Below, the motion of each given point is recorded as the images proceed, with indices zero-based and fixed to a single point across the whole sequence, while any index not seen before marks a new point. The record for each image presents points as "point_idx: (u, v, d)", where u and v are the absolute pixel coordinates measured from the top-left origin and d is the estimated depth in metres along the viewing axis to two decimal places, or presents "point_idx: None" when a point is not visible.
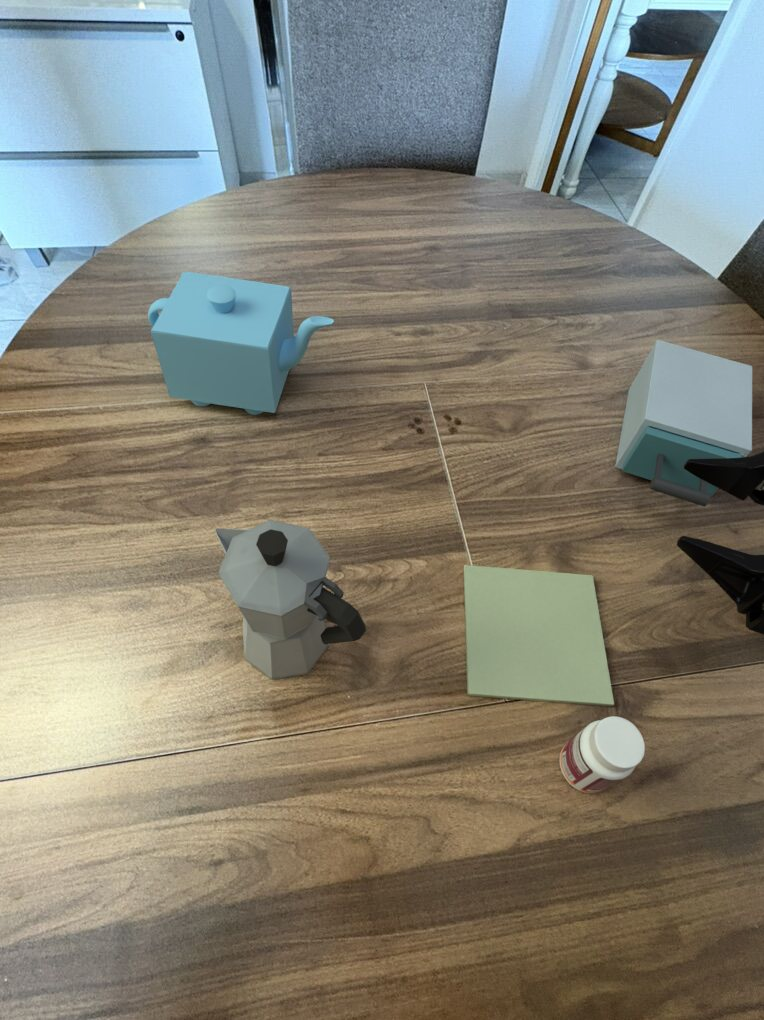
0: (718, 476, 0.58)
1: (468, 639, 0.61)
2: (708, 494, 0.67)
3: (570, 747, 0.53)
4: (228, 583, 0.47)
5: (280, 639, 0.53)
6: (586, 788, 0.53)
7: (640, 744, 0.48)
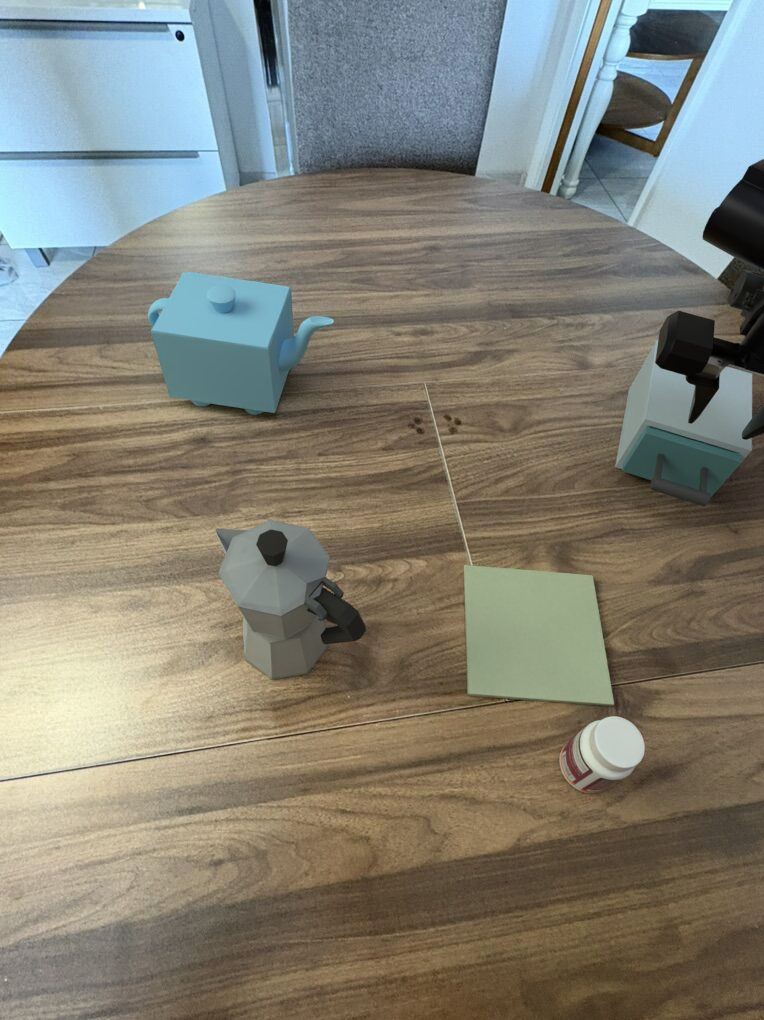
0: (762, 417, 0.60)
1: (468, 639, 0.61)
2: (708, 494, 0.67)
3: (570, 747, 0.53)
4: (228, 583, 0.47)
5: (280, 639, 0.53)
6: (586, 788, 0.53)
7: (640, 744, 0.48)
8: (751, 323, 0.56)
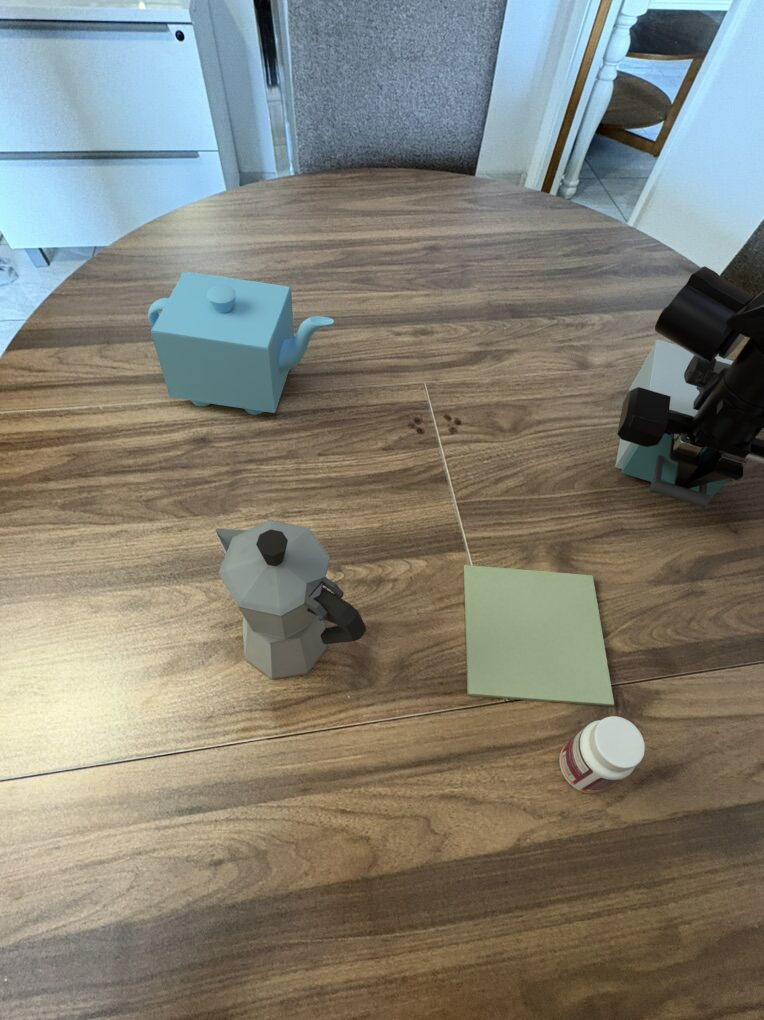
0: (692, 472, 0.66)
1: (468, 639, 0.61)
2: (708, 496, 0.67)
3: (570, 747, 0.53)
4: (228, 583, 0.47)
5: (280, 639, 0.53)
6: (586, 788, 0.53)
7: (640, 744, 0.48)
8: (702, 400, 0.62)
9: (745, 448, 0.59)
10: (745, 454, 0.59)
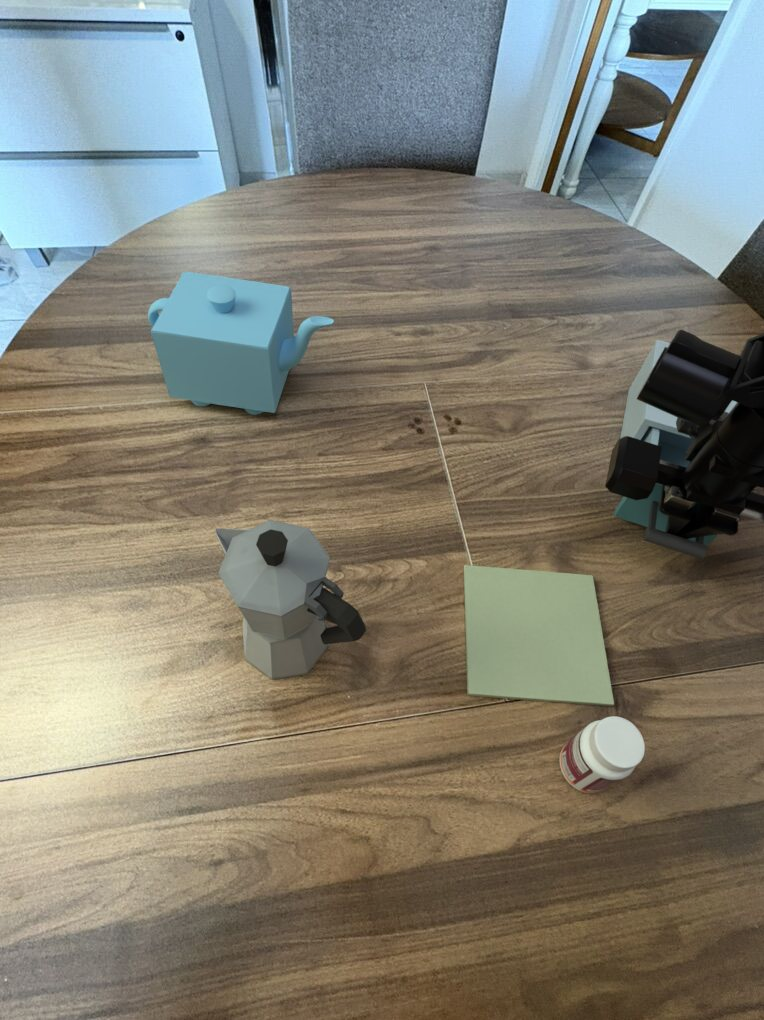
0: None
1: (468, 639, 0.61)
2: (705, 546, 0.63)
3: (570, 747, 0.53)
4: (228, 583, 0.47)
5: (280, 639, 0.53)
6: (586, 788, 0.53)
7: (640, 744, 0.48)
8: (695, 451, 0.59)
9: (739, 505, 0.56)
10: (739, 511, 0.56)
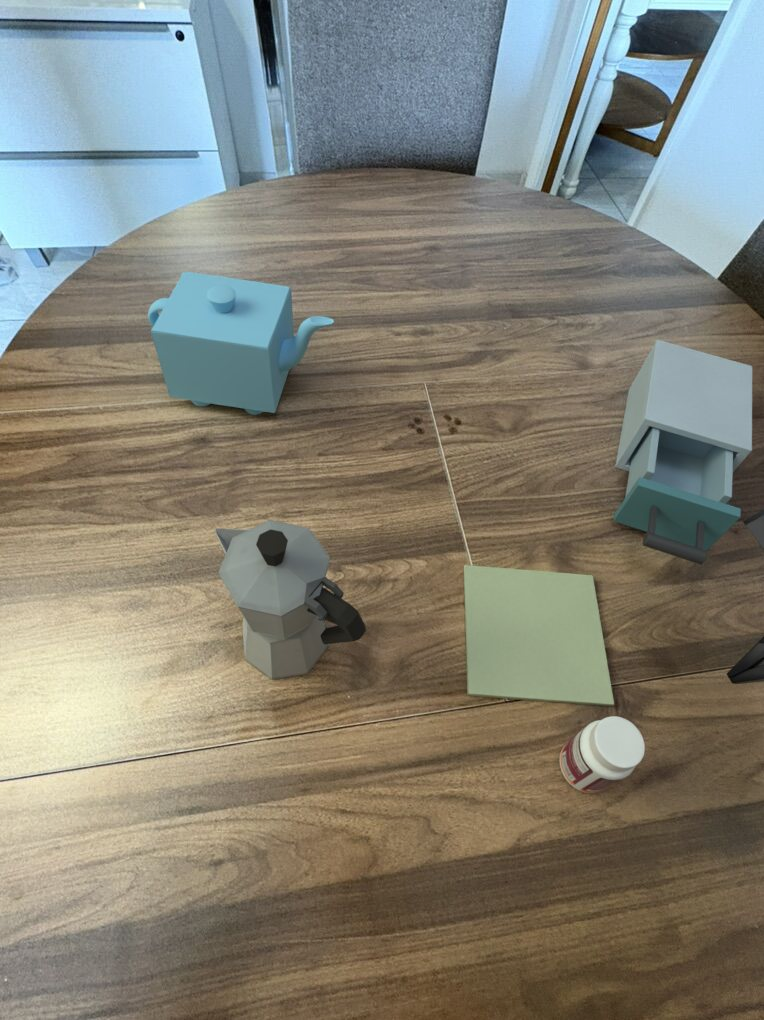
0: None
1: (468, 639, 0.61)
2: (705, 552, 0.62)
3: (570, 747, 0.53)
4: (228, 583, 0.47)
5: (280, 639, 0.53)
6: (586, 788, 0.53)
7: (640, 744, 0.48)
8: None
9: None
10: None
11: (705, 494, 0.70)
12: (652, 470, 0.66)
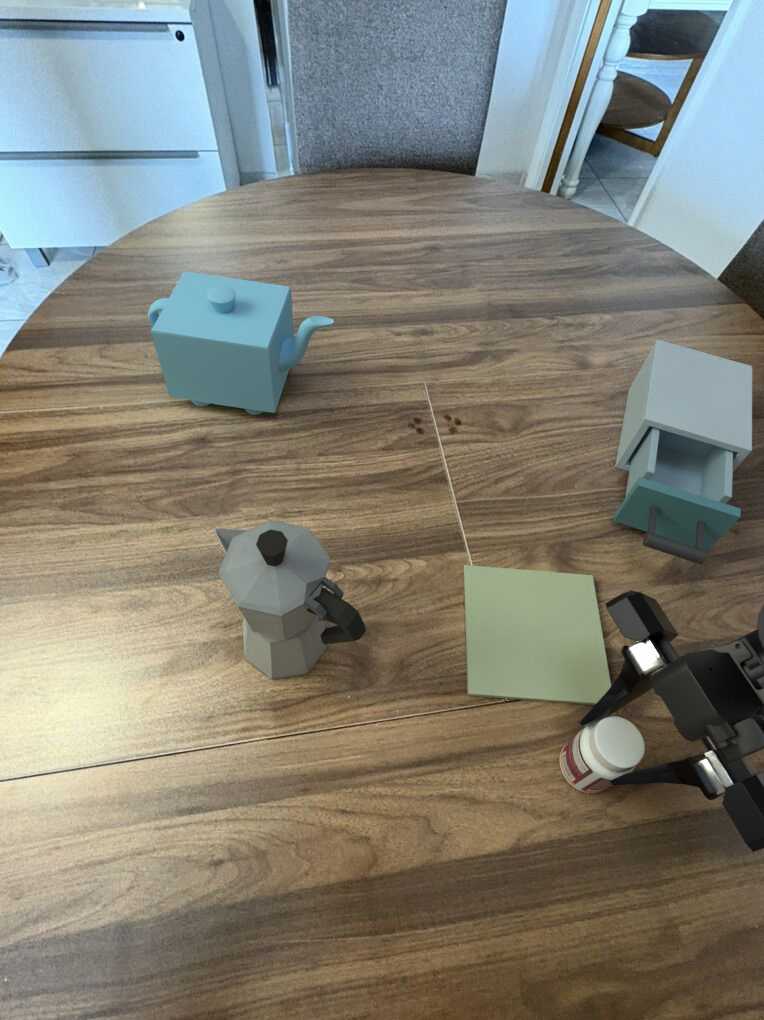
0: (617, 707, 0.50)
1: (468, 639, 0.61)
2: (705, 552, 0.62)
3: (570, 747, 0.53)
4: (228, 583, 0.47)
5: (280, 639, 0.53)
6: (586, 788, 0.53)
7: (640, 744, 0.48)
8: None
9: None
10: None
11: (705, 494, 0.70)
12: (652, 470, 0.66)
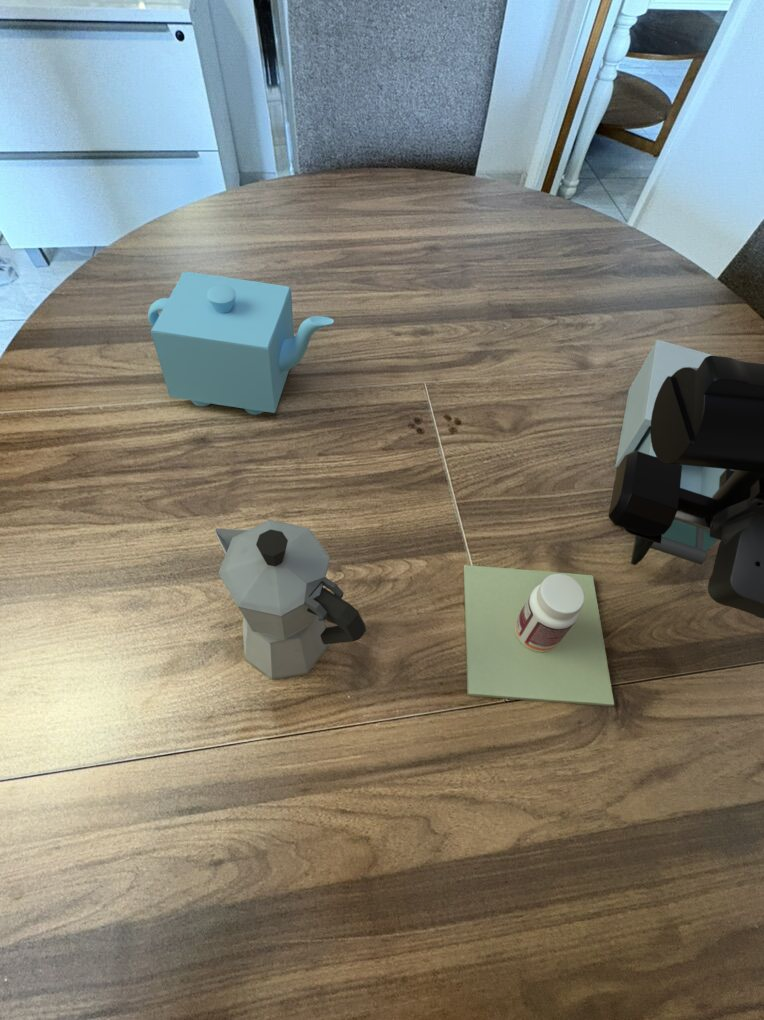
0: None
1: (468, 639, 0.61)
2: (705, 552, 0.62)
3: None
4: (228, 583, 0.47)
5: (280, 639, 0.53)
6: (528, 640, 0.60)
7: (579, 601, 0.55)
8: None
9: (733, 473, 0.45)
10: None
11: (705, 494, 0.70)
12: None
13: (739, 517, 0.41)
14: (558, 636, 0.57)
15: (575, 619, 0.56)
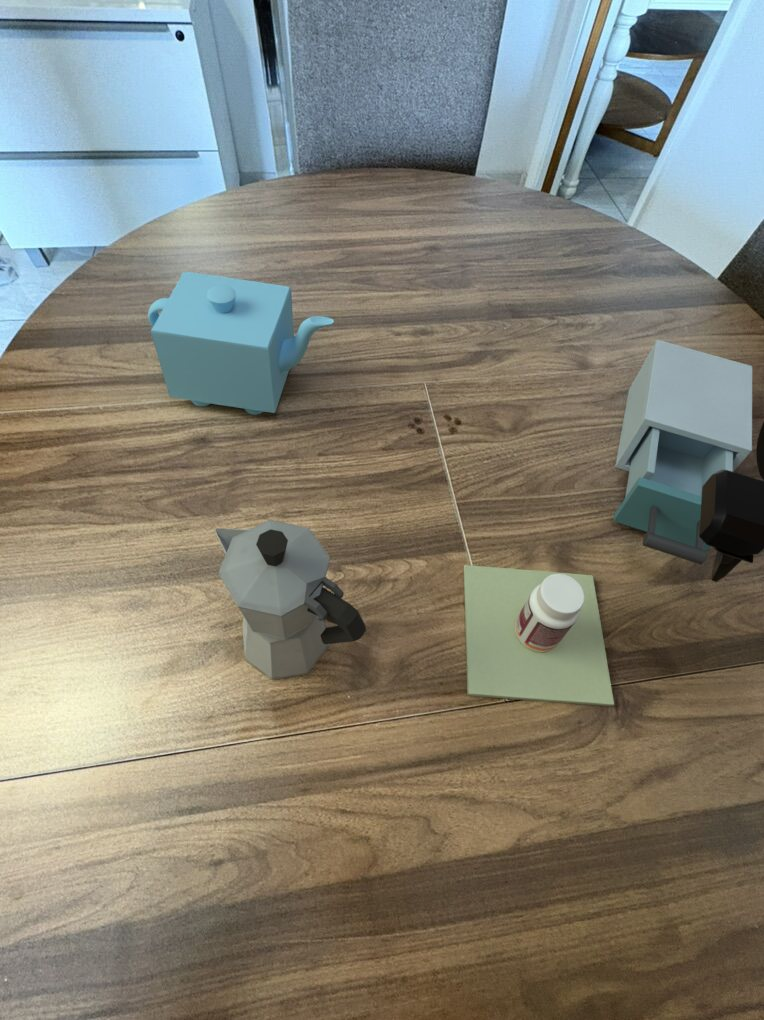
0: None
1: (468, 639, 0.61)
2: (705, 552, 0.62)
3: None
4: (228, 583, 0.47)
5: (280, 639, 0.53)
6: (528, 640, 0.60)
7: (579, 601, 0.55)
8: None
9: None
10: None
11: None
12: (652, 470, 0.66)
13: None
14: (558, 636, 0.57)
15: (575, 619, 0.56)
